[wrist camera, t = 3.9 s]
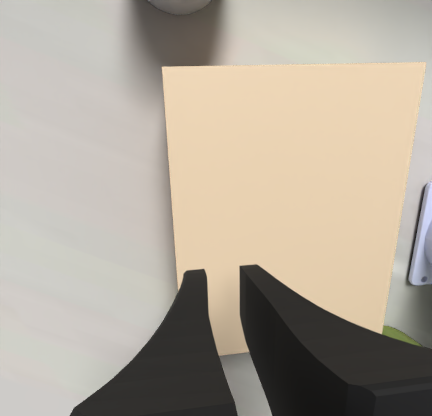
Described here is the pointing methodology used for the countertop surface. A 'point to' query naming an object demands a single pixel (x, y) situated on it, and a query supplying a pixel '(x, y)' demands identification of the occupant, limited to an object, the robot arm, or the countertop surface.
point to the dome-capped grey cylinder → (179, 6)
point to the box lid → (291, 181)
